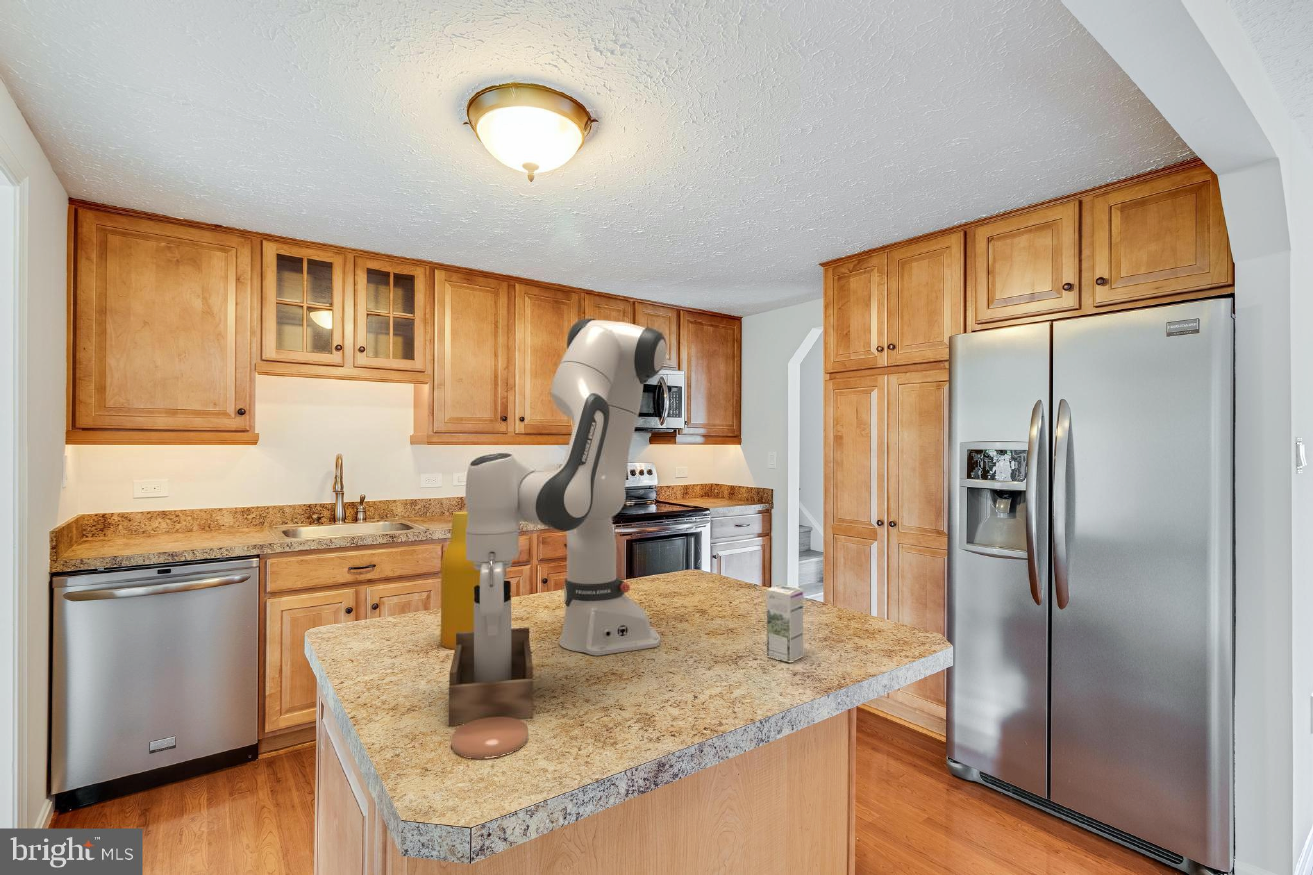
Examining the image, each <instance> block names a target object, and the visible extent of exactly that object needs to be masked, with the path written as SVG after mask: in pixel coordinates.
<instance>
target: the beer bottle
mask: <svg viewBox="0 0 1313 875" xmlns="http://www.w3.org/2000/svg"><path fill="white" fill-rule="evenodd" d="M467 524H468V513H467V511H455V512H453V514H452V523H451V529H450V538H449V542H448V545H447V546H446V549H445V551H444V553H443V555H442V558H441V567H440V572H441V574H440V576H441V577H440V578H441V582H440V584H441V585H440V588H441V589H440V594H441V595H440V634H439V635H440V637H439V638H440V645H441V646H442V647H444V648H446V649H449V650H455V647H456V632H469V631H474V597H475V596H474V586H476V585H478V586H480V570H476V569H474V562H473V561H469V560H467V559H466V527H467Z"/></svg>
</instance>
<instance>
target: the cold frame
mask: <svg viewBox="0 0 1313 875" xmlns="http://www.w3.org/2000/svg"><path fill="white" fill-rule="evenodd" d="M532 657H533V656H532V650H531V643H530V627H517V628H516V627H515V628H511V673H512V680H508V681H496V682H484V683H474V631H469V632H456V647H455V649H454V652H453V657H452V660H451V665H450V670H449V676H448V677H449V680H448V681H449V682H448V727H452V725H455V726H460V725H459V724H466V723H468V722H471V721H474V720H477V719H482V718H487V717H510V718H515V719H518V720H524V719H533V717H534V712H533V711H534V678H533V676H534V672H533V671H534V667H533V666H534V664H533V658H532Z"/></svg>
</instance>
